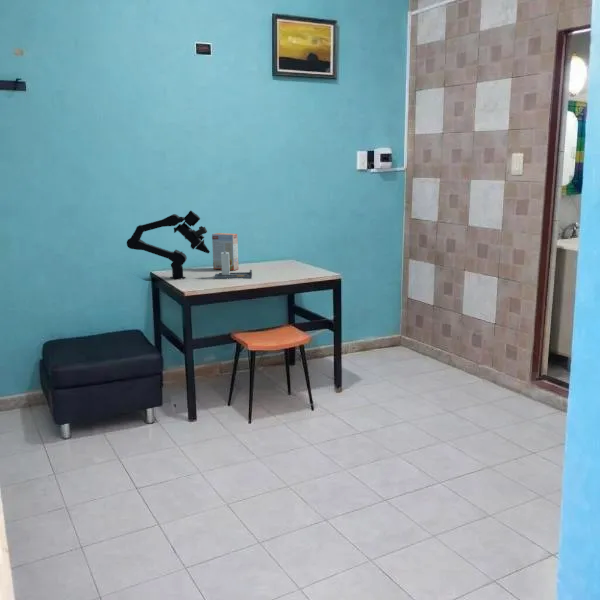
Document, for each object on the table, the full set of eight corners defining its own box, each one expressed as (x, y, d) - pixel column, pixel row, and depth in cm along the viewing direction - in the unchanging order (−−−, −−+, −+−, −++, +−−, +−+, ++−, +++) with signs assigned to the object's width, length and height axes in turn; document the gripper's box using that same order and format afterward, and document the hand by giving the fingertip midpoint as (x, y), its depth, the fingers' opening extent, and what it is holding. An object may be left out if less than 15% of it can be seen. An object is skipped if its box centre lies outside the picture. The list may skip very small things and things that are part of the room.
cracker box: (239, 269, 378) (237, 233, 373) (233, 271, 372) (232, 234, 368) (218, 267, 383) (217, 232, 379) (213, 269, 378) (211, 233, 374)
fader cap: (221, 275, 350) (221, 252, 348) (222, 274, 355) (221, 251, 352) (229, 275, 350) (228, 252, 348) (229, 274, 355) (229, 251, 352)
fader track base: (214, 279, 348) (213, 273, 347) (215, 275, 357) (215, 270, 357) (251, 278, 349) (251, 272, 348) (252, 275, 358) (251, 269, 358)
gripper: (195, 223, 337) (218, 244, 339) (199, 220, 355) (220, 239, 358) (181, 238, 338) (203, 259, 341) (185, 234, 356) (206, 254, 359)
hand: (209, 252), depth 350 cm, fingers closed
